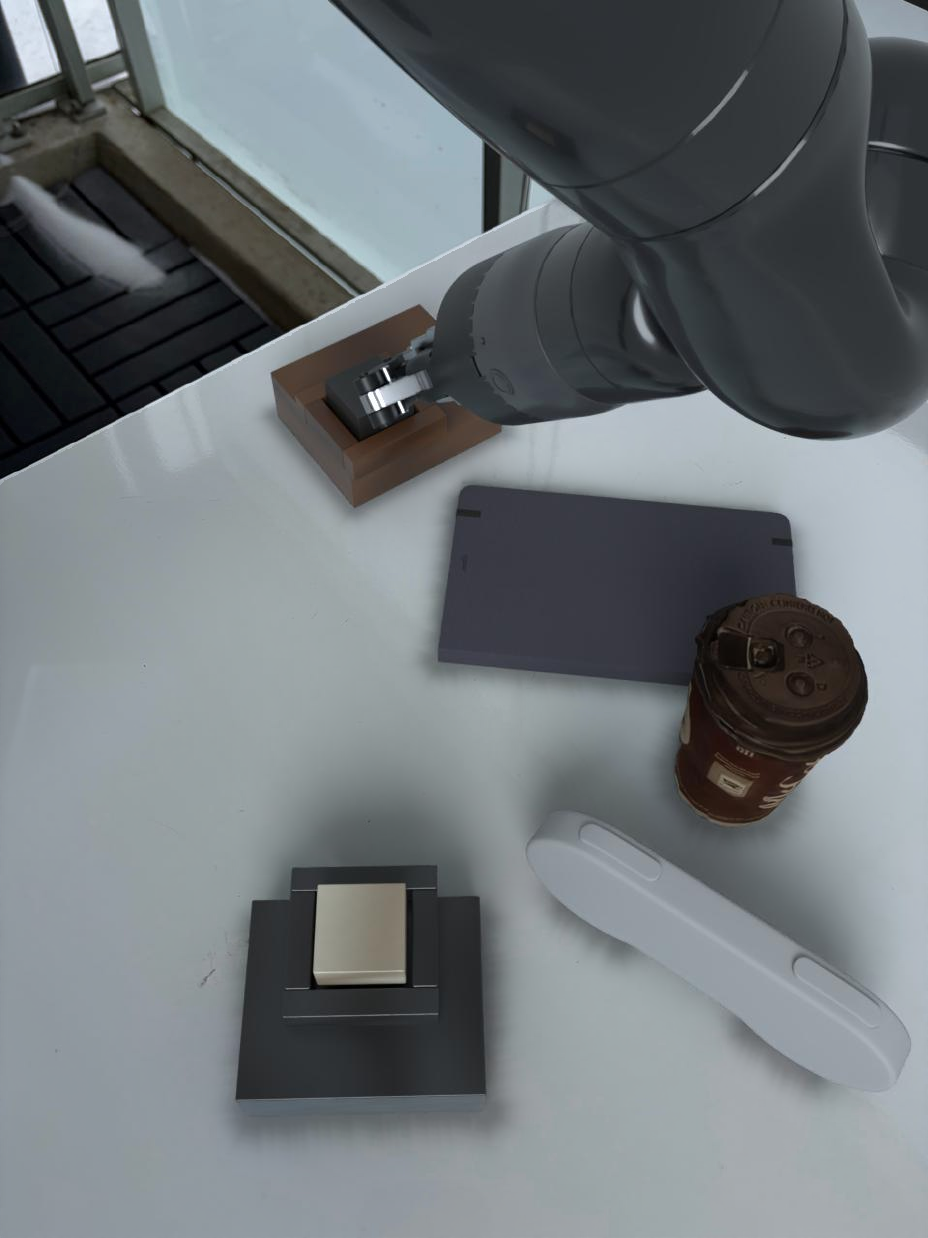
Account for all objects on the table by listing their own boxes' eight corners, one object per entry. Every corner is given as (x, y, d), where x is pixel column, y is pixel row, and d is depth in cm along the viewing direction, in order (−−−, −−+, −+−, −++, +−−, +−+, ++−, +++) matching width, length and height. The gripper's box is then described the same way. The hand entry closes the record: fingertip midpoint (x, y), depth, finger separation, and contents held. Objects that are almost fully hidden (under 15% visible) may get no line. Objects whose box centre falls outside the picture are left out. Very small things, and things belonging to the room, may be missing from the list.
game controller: (879, 1066, 52) (946, 1027, 46) (859, 1108, 51) (925, 1074, 44) (542, 844, 58) (555, 779, 51) (518, 878, 57) (529, 816, 50)
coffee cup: (618, 766, 61) (657, 644, 50) (713, 680, 64) (769, 548, 53) (739, 877, 58) (809, 771, 47) (833, 780, 61) (919, 661, 50)
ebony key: (360, 442, 67) (358, 418, 65) (326, 403, 68) (323, 379, 67) (414, 415, 68) (413, 391, 66) (379, 377, 70) (378, 353, 68)
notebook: (437, 662, 65) (796, 697, 64) (437, 648, 63) (804, 684, 62) (459, 498, 71) (783, 528, 71) (460, 483, 70) (790, 513, 69)
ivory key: (317, 986, 49) (312, 973, 47) (321, 899, 51) (317, 884, 49) (406, 984, 49) (405, 971, 47) (406, 897, 51) (405, 882, 49)
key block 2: (248, 1117, 51) (227, 1094, 46) (265, 908, 56) (247, 867, 51) (483, 1111, 51) (487, 1088, 46) (476, 904, 56) (480, 863, 51)
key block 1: (358, 524, 70) (352, 462, 65) (272, 419, 75) (260, 354, 70) (512, 443, 74) (517, 379, 69) (420, 348, 79) (419, 282, 74)
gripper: (644, 187, 47) (473, 265, 62) (386, 303, 42) (272, 356, 58) (702, 351, 49) (522, 387, 64) (462, 478, 44) (332, 483, 60)
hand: (404, 372), depth 61 cm, fingers closed
